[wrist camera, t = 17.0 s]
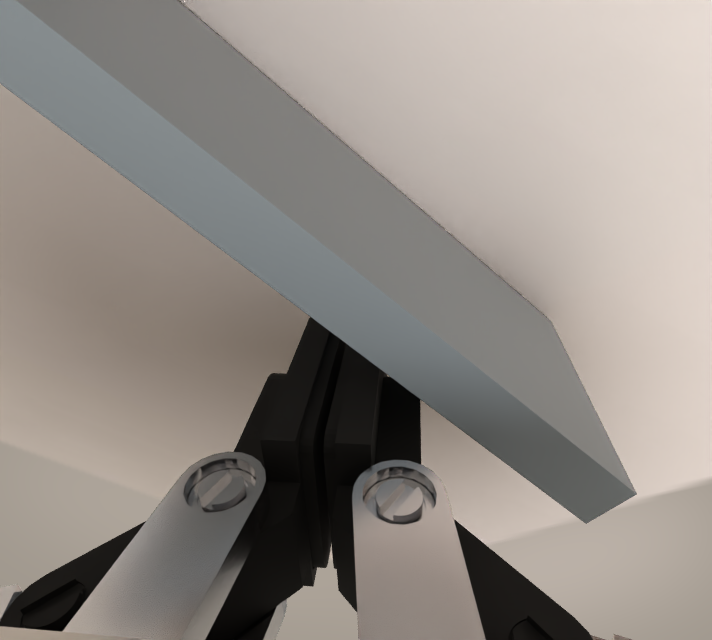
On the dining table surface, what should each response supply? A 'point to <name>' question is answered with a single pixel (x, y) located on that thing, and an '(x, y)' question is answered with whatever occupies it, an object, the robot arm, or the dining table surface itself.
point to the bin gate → (313, 226)
